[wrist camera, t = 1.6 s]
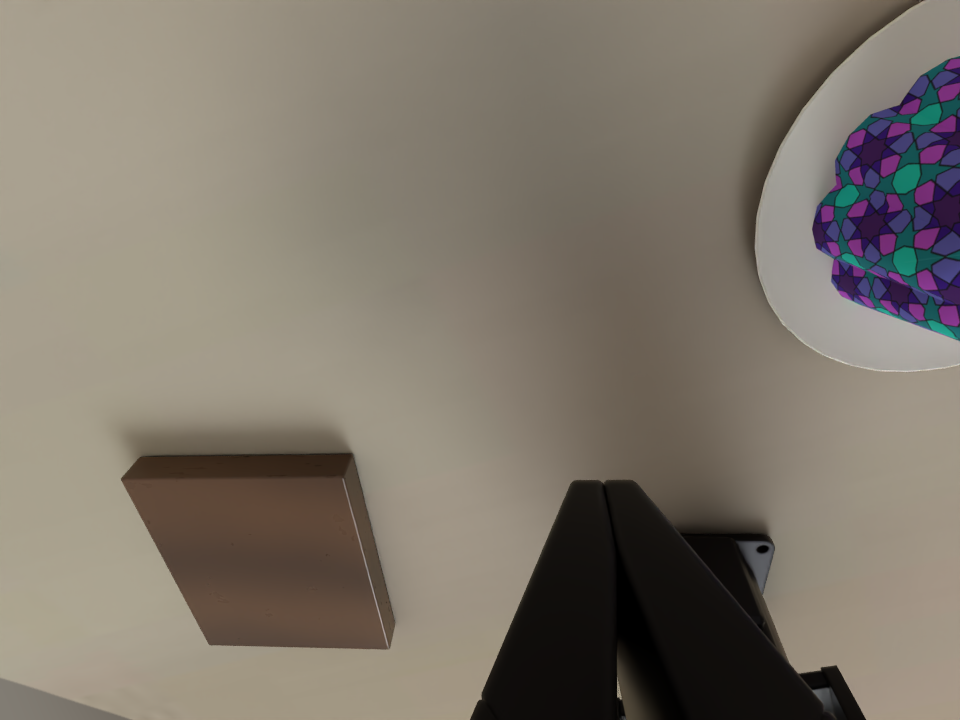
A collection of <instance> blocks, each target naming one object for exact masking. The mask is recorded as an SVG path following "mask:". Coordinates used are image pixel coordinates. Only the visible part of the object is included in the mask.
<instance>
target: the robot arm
mask: <svg viewBox="0 0 960 720" xmlns="http://www.w3.org/2000/svg"><path fill="white" fill-rule="evenodd" d="M774 550H775V546H774V544H773V541H772V539H771V538H770V537H769V536H767V535H764V534H680V533H679V532H678V531H677V530H676V529H675V528H674V526H673V525H672V524H671V523H670V522H669V520H668V519H667V518H666V517H665V516H664V515H663V513H662V512H661V511H660V510H659V509H658V507H657V506H656V505H655V504H654V503H653V502H652V500H651V499H650V498H649V497H648V496H647V494H646V493H645V492H644V491H643V490H642V489H641V487H640V486H639V485H638V484H637V483H636V482H635V481H633V480H606V481H605V482H604V483H602V482H601V481H599V480H575V481H573V482H572V483H571V484H570V486H569V489H568V491H567V493H566V496H565V498H564V500H563V503H562V505H561V507H560V510H559V512H558V515H557V517H556V519H555V522H554V524H553V526H552V529H551V531H550V533H549V536H548V538H547V540H546V543H545V545H544V548H543V550H542V552H541V555H540V557H539V559H538V562H537V564H536V566H535V569H534V571H533V574H532V576H531V578H530V581H529V583H528V585H527V588H526V590H525V592H524V595H523V597H522V600H521V602H520V604H519V607H518V609H517V611H516V614H515V616H514V618H513V621H512V623H511V625H510V628H509V630H508V633H507V635H506V637H505V640H504V642H503V644H502V647H501V649H500V651H499V654H498V656H497V659H496V661H495V663H494V666H493V668H492V670H491V673H490V675H489V677H488V680H487V682H486V684H485V687H484V689H483V692H482V700H479V701H478V702H477V705H476V707H475V709H474V712H473V714H472V716H471V719H470V720H866V719H865V717H864V715H863V713H862V711H861V709H860V708H859V706H858V704H857V702H856V700H855V698H854V697H853V695H852V693H851V691H850V689H849V687H848V686H847V684H846V682H845V680H844V678H843V676H842V675H841V673H840V671H839V669H838V667H837V666H836V665H835V666H828V667H822V668H821V671H814V672H807V673H800V674H798V673H797V672H796V671H795V670H794V668H793V667H792V666H791V665H790V664H789V661H788V658H787V656H786V653H785V651H784V648H783V646H782V643H781V641H780V638H779V636H778V633H777V631H776V628H775V626H774V623H773V621H772V618H771V616H770V613H769V611H768V608H767V606H766V603H765V601H764V598H763V596H762V595H763V592H764V588H765V584H766V580H767V577H768V573H769V569H770V565H771V562H772V558H773V554H774ZM617 677H618V682H619V686H620V691H621V696H622V700H620V698H619V697H618V698H617Z"/></svg>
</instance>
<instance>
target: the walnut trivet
mask: <svg viewBox="0 0 960 720" xmlns="http://www.w3.org/2000/svg"><path fill="white" fill-rule="evenodd" d="M121 481H122V482H123V484H124V486H125V488H126V490H127V492H128V494H129V496H130V497H131V499H132V501H133V503H134V505H135V507H136V509H137V511H138V512H139V514H140V516H141V518H142V520H143V522H144V524H145V526H146V527H147V529H148V531H149V533H150V535H151V537H152V539H153V541H154V542H155V544H156V546H157V548H158V550H159V552H160V554H161V556H162V557H163V559H164V561H165V563H166V565H167V567H168V569H169V571H170V572H171V574H172V576H173V578H174V580H175V582H176V584H177V586H178V587H179V589H180V591H181V593H182V595H183V597H184V599H185V601H186V602H187V604H188V606H189V608H190V610H191V612H192V614H193V616H194V617H195V619H196V621H197V623H198V625H199V627H200V629H201V631H202V632H203V634H204V636H205V638H206V640H207V642H208V644H209V645H227V646H268V647H310V648H351V649H390V646H391V641H392V637H393V632H394V628H395V622H394V618H393V614H392V610H391V606H390V602H389V598H388V594H387V590H386V586H385V582H384V578H383V574H382V570H381V566H380V562H379V558H378V554H377V550H376V546H375V542H374V538H373V534H372V530H371V526H370V522H369V518H368V514H367V510H366V506H365V502H364V498H363V494H362V490H361V486H360V482H359V478H358V474H357V470H356V466H355V462H354V458H353V455H352V454H335V455H255V456H175V457H140V458H139V459H138V460H137V461H136V462H135V463H134V464H133V466H132V467H131V468H130V469H129V470H128V471H127V472H126V473H125V475H124V476H123V477H122V478H121Z"/></svg>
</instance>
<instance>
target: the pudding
mask: <svg viewBox="0 0 960 720" xmlns="http://www.w3.org/2000/svg"><path fill="white" fill-rule="evenodd" d="M755 254H756V261H757V269H758V276H759V279H760V282H761V285H762V287H763V290H764V293H765V295H766V298H767V301H768V303H769V304H770V306H771V307H772V309H773V311H774V312H775V314H776V315H777V317H778V318H779V320H780V321H781V323H782V324H783V325H784V326H785V327H786V328H787V329H788V330H789V331H790V332H791V333H792V334H793V335H794V336H795V337H796V338H797V339H799V340H800V341H801V342H802V343H803V344H805V345H807V346H808V347H810V348H812V349H813V350H815V351H817V352H818V353H820V354H821V355H823V356H825V357H828V358H831V359H833V360H836V361H839V362H841V363H844V364H847V365H849V366H854V367H860V368H865V369H870V370H876V371H892V372H915V371H925V370H935V369H944V368H948V367H952V366H957V365H960V0H924V1H923V2H921V3H919V4H917V5H915V6H913V7H911V8H910V9H908V10H907V11H905V12H904V13H903V14H901V15H900V16H899V17H897V18H896V19H894V20H893V21H892V22H890V23H889V24H888V25H886V26H885V27H883V28H882V29H881V30H879V31H878V32H877V33H875V34H874V35H872V36H871V37H870V38H868V39H867V40H866V41H865V42H864V43H863V44H862V45H861V46H860V47H859V48H858V49H857V50H856V51H854V52H853V53H852V54H851V55H850V56H849V57H848V58H847V59H846V60H845V61H844V62H843V63H842V64H841V65H840V66H839V67H838V68H836V69H835V70H834V71H833V72H832V73H831V75H830V76H829V77H828V78H827V80H826V81H825V82H824V83H823V84H822V86H821V87H820V88H819V89H818V91H817V92H816V93H815V94H814V95H813V97H812V98H811V99H810V100H809V102H808V103H807V104H806V105H805V106H804V108H803V109H802V111H801V112H800V114H799V116H798V117H797V119H796V120H795V122H794V124H793V125H792V127H791V129H790V130H789V132H788V134H787V135H786V137H785V139H784V140H783V142H782V143H781V145H780V147H779V150H778V152H777V154H776V157H775V159H774V161H773V164H772V166H771V168H770V171H769V173H768V176H767V178H766V180H765V183H764V188H763V192H762V196H761V200H760V204H759V208H758V212H757V217H756V233H755Z"/></svg>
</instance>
